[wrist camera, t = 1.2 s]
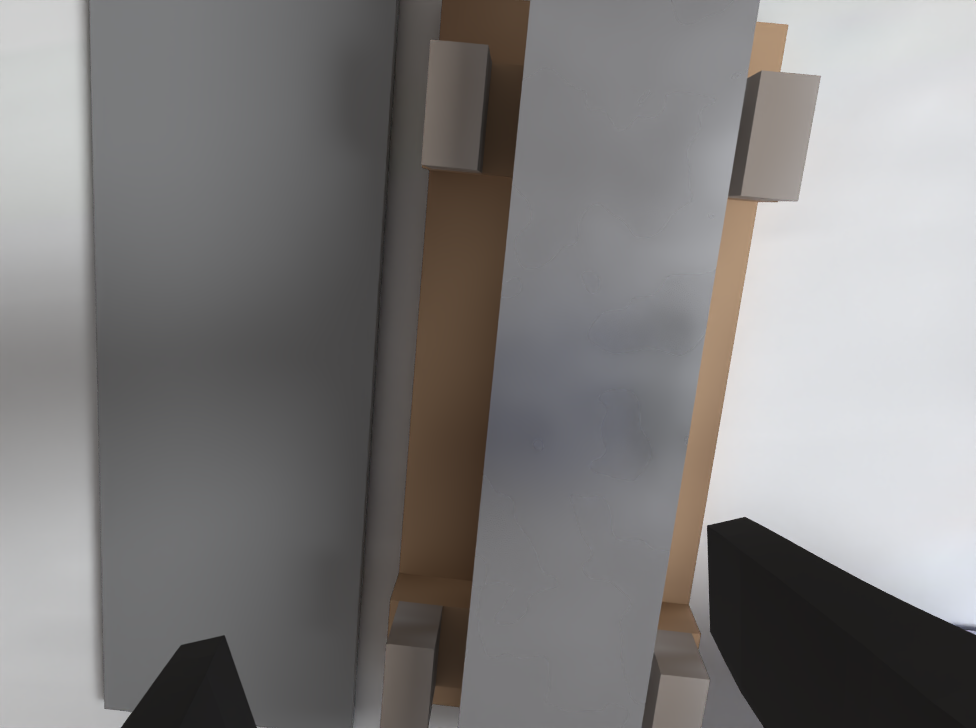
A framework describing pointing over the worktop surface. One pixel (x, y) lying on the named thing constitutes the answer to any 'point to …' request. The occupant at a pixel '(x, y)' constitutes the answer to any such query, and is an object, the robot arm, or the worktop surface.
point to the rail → (599, 350)
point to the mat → (238, 335)
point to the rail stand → (473, 334)
